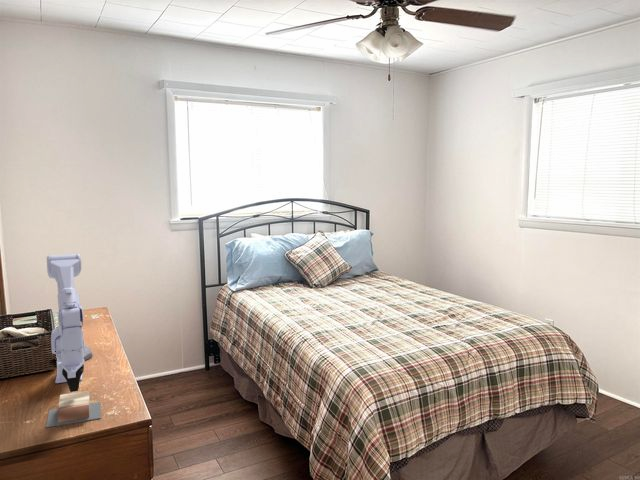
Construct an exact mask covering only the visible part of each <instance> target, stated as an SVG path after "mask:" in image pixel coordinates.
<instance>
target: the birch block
mask: <svg viewBox="0 0 640 480" xmlns="http://www.w3.org/2000/svg"><path fill="white" fill-rule="evenodd" d="M90 393H91V391H90V390H85V391H79V392H78V391H76V392H70V393H64V394H60V395H59V401H58V406H57V409H58V422H64V421H70V420H76V419H82V418H88V417H89V414H90V403H91V394H90Z"/></svg>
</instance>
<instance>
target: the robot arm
mask: <svg viewBox="0 0 640 480" xmlns="http://www.w3.org/2000/svg"><path fill="white" fill-rule="evenodd" d="M46 271H47V276H48V277H49V278H50V279H53V280H55V282H56V283H57V305H58V311H57V324H58V325H57V327H56V328H54V329H53V330H52V331H51V334H50V336H51V337H50V344H51V346H50V347H51V353H52V355H53V354H56V358H57V361H56V370H57V372H56V377H55V382H54V383H55V384H60V383H67V386H68V389H69V391H70V393H76V392H78V391H79V389H80V388H79V387H80V382H81V381H82V379H83V373H84V369H85V367H84V366H85V360H84V359H83V349H84V344H85V339H84V330H83V327H84V322H85V321H84V319H85V318H84V310H83V307H82V304H81V303H80V295H79V291H78V290H77V289H75V288H74V286H75V285H74V278H76V277H78V276H79V275H80V274H81V272H82V257H81V254H79V253H72V254H71V253H70V254H54V255H50V254H48V255H47V256H46ZM55 351H56V352H55Z"/></svg>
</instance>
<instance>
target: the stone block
mask: <svg viewBox="0 0 640 480" xmlns="http://www.w3.org/2000/svg"><path fill="white" fill-rule="evenodd" d="M93 355H94V354H93V351H92V348H90V347H89V346H88V345H87V344H86V343H84V349H83V359H84V361H86V360H88V359H91V358H92V357H93Z"/></svg>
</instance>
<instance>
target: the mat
mask: <svg viewBox="0 0 640 480" xmlns="http://www.w3.org/2000/svg"><path fill="white" fill-rule="evenodd" d="M101 405H102V402H101V401H98V402H92V403H91V402H90V414H89V417H88V418H82V419H76V420H70V421H64V422H58V408H54V409H49V411H48V415H47V420H46V424H45V428H46V429H48V428H55V427H60V426H67V425H71V424H72V425H73V424H78V423H83V422H90V421H94V420H101V416H102V415H101V413H102V412H101V411H102V410H101V408H102V406H101Z"/></svg>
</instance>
